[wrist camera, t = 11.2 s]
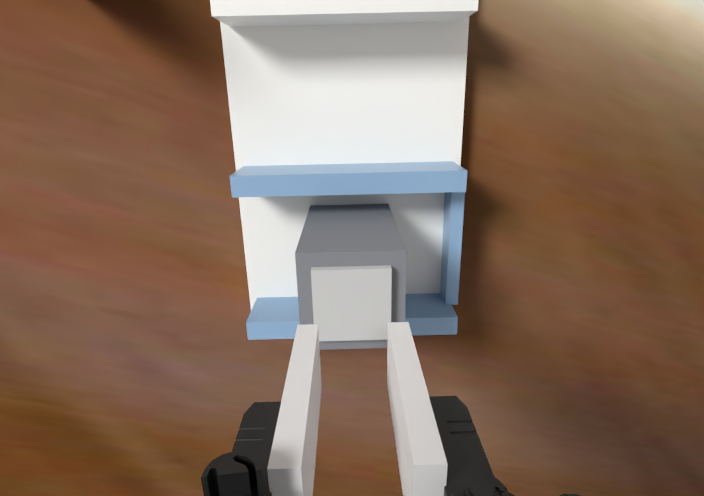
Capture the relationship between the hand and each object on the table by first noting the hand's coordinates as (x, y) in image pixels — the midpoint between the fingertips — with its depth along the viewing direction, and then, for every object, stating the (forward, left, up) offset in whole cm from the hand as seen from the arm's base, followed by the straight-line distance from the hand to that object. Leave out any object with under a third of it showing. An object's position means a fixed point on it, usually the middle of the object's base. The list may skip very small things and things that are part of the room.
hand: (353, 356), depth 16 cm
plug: (0, 0, -14) cm, 14 cm away
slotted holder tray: (-9, 0, -15) cm, 17 cm away
